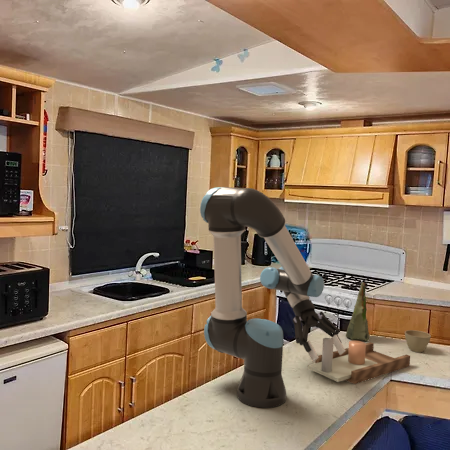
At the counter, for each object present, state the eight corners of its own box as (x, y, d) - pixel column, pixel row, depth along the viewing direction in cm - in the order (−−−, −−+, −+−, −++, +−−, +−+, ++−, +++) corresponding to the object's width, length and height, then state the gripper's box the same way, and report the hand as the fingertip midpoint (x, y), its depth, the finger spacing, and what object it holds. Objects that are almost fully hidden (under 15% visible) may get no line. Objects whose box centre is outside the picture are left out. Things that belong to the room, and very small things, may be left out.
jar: (348, 363, 172) (349, 344, 172) (347, 358, 178) (348, 339, 178) (365, 365, 171) (366, 346, 171) (363, 359, 177) (364, 341, 177)
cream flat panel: (337, 382, 158) (339, 346, 158) (308, 368, 169) (309, 335, 168) (382, 368, 173) (384, 335, 172) (352, 356, 184) (353, 325, 183)
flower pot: (425, 356, 191) (427, 339, 190) (400, 350, 197) (401, 333, 196) (432, 350, 199) (433, 333, 198) (407, 344, 205) (408, 328, 204)
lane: (354, 384, 160) (355, 372, 160) (315, 366, 175) (315, 356, 174) (409, 366, 179) (410, 355, 179) (369, 351, 194) (370, 342, 193)
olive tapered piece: (359, 333, 218) (362, 279, 216) (377, 341, 207) (381, 285, 205) (339, 335, 214) (342, 280, 212) (356, 344, 203) (360, 286, 201)
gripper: (319, 305, 185) (347, 355, 174) (270, 313, 170) (297, 367, 160) (330, 294, 180) (359, 345, 169) (281, 302, 166) (310, 357, 155)
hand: (329, 356), depth 164 cm, fingers open, 13 cm apart
